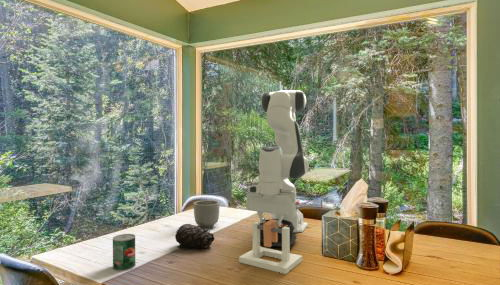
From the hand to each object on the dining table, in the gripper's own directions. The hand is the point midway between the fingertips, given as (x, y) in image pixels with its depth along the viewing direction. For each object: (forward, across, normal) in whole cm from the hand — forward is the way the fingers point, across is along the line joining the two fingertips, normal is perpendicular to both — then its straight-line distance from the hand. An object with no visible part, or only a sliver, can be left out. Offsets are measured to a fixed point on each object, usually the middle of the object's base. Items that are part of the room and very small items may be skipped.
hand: (270, 224), depth 120 cm
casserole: (+15, +10, -22) cm, 29 cm away
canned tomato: (+15, +44, +33) cm, 57 cm away
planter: (+15, +52, -23) cm, 59 cm away
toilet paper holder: (+14, 0, 0) cm, 14 cm away
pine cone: (+15, +36, +3) cm, 39 cm away
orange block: (+8, 0, 0) cm, 8 cm away
